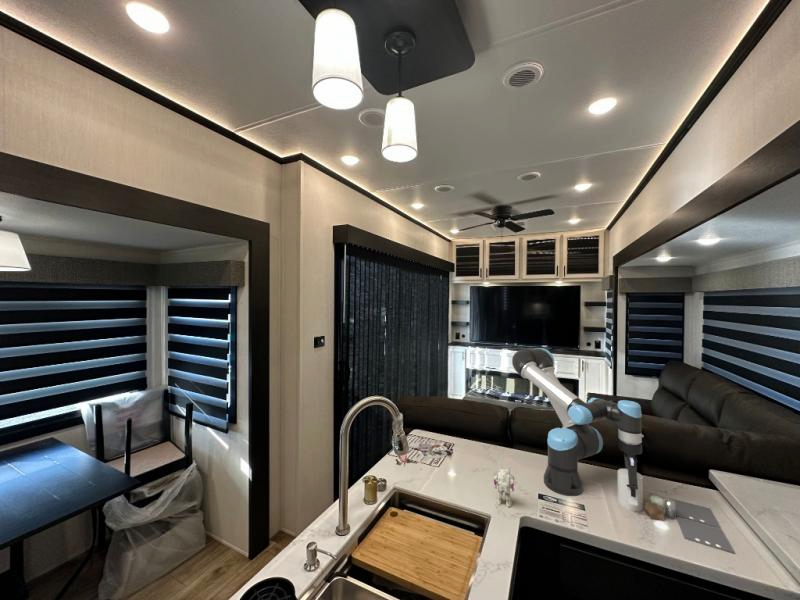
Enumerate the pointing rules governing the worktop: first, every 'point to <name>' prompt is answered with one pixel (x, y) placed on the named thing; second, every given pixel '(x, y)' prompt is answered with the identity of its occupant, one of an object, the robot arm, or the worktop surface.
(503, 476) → the figurine
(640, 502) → the white cylinder
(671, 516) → the metal peg
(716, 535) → the pad three
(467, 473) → the worktop surface
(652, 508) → the walnut block
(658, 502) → the pale green domed piece
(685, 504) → the pad two
